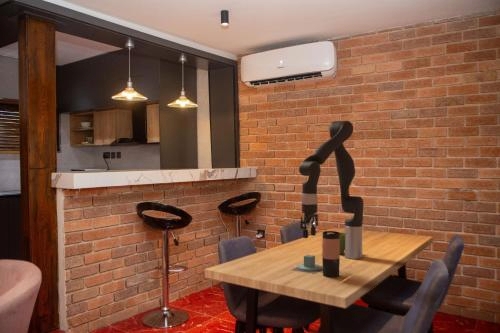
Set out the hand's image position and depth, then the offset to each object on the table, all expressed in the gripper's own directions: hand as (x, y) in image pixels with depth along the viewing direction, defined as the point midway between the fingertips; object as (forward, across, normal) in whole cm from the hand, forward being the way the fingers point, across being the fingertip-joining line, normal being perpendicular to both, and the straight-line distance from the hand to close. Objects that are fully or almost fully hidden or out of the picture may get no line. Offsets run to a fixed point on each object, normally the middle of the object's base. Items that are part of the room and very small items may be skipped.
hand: (309, 236), depth 196 cm
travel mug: (+16, +6, +13) cm, 22 cm away
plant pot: (+16, -42, -2) cm, 45 cm away
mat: (+16, 0, 0) cm, 16 cm away
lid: (+15, 0, 0) cm, 15 cm away
